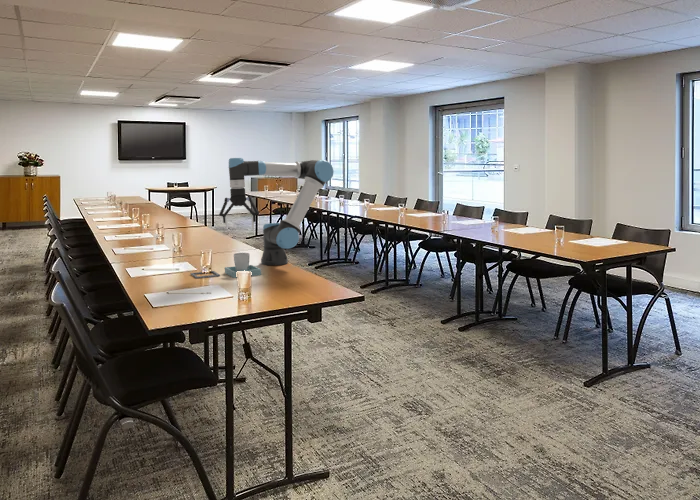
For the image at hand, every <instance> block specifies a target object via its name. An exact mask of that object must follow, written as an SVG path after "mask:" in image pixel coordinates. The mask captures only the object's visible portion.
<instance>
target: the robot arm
mask: <svg viewBox="0 0 700 500" xmlns="http://www.w3.org/2000/svg"><path fill="white" fill-rule="evenodd" d="M333 168H334V167H333V165H332V164H331V163H330V162H329V161H327V160H325V159H315V160H314V159H312V160H311V159H310V160H304V161H294V162H276V161H275V162H272V161H264V160H244V158H243V157H230V158H229V159H228V172H229V173H228V174H229V175H228V176H229V187H230V191H229V192H230V197H225V198H224V201H223V202H224V203H223V204H222V207H221V208H220V209H221V210H220V212H219V214H218V215H219V216H220V217H222V222H223V224H224V225H225V230H228V229H229V223H228V222H229V221H228V219H229V218H228V216H227V215H228V213H230V211H231V210H232V209H233V207H238V206H239V207H244V208H245V209H246V210H247V211H248V212H249V213H250V214H251V216H250V217H251V229H252V230H253V229H255V222H256V221H257V218H256V217H257V215H259V214H260V212H259V210H258V209H257V207H256V205H255V204H254V202H253V198H252V196H247V197H246V188H245V187H246V184H245V182H246V181H245V177H249V176H250V177H253V176H258V177H259V176H260V177H261V176H263V177H264V176H265V177H267V176H268V177H294V178H295V179H301V180H304V181H305V182H304V184H303V185H302V187H301V190H300V191H299V192H298V194H297V196H296V198H295V200H294V202H293V204H292V205H291V207H290V210H289V212H288V214H287V216H286V217H285V218H284V219H282V220H281V221H279V222H273V223H264V224H263V228H262V232H263V252H262V256H261V259H260V264H261V265H265V266H282V265H287V264H288V262H289V260H288V256H287V252H286V250H287V249H292V248H294V247H295V246H297V244H298V243H299V240H300V236H299V233H300V232H301V227H300V226H301V224H302V222H303V220H304V218H305V216H306V214H307V212H308V211H309V208H310V206H311V205H312V203H313V201H314V200H315V197H316V196H317V193H318V192H319V190H320V189H323V188H324V186H325V184H326V183H327V182H329V181H331V180H332V178H333V176H334V169H333ZM246 201H247V202H249V204H250V205H251V207H252V209H251V207H250V206H249V205H248V204H247V203H246ZM229 202H231V204H230V205H229V207H228V208H227V209H226V207H227V204H228V203H229ZM225 209H226V210H225ZM285 249H286V250H285Z"/></svg>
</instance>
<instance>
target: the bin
mask: <svg viewBox="0 0 700 500" xmlns="http://www.w3.org/2000/svg"><path fill="white" fill-rule="evenodd" d="M245 271H251V272H252V276H251V277H254V276H255V277H256V276H262V269H261V268H259V267H257V266H255V265H253V264H249V268H248V270H245ZM236 272H237V271H236V268H235V265H234V266H225V267H224V274H226V275H227V276H230V277H231V278H233V279H234V278H237V277H236Z"/></svg>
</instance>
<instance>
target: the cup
mask: <svg viewBox="0 0 700 500" xmlns="http://www.w3.org/2000/svg"><path fill="white" fill-rule="evenodd" d="M233 262H234V266H235V268H236V271H244V270H248V268H249V265H250V253H249V252H236V253H235V252H234V253H233Z"/></svg>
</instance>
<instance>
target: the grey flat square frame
mask: <svg viewBox="0 0 700 500" xmlns="http://www.w3.org/2000/svg"><path fill="white" fill-rule="evenodd" d="M210 271H211V273H210V275H209V274H208V275H202V272H203V271H199V272H190V275H191V276H192V277H193V278H195V279H205V278H217V277H220V276H221V274H219V273H218V272H216V271H215V270H210ZM200 275H201V276H200Z"/></svg>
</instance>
